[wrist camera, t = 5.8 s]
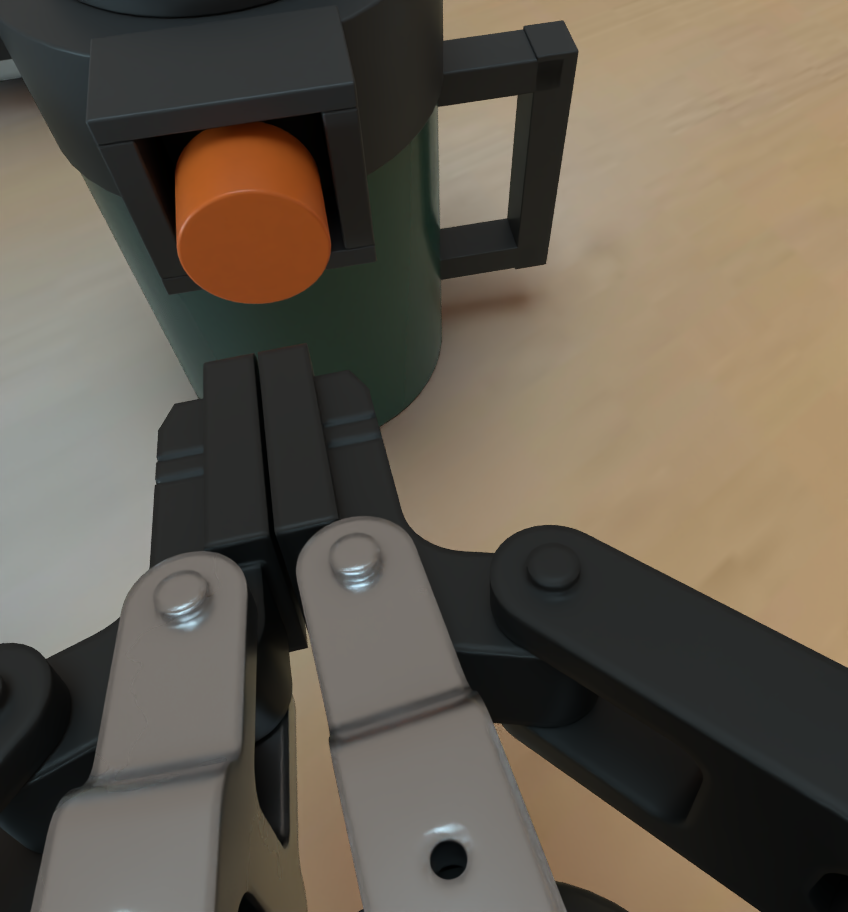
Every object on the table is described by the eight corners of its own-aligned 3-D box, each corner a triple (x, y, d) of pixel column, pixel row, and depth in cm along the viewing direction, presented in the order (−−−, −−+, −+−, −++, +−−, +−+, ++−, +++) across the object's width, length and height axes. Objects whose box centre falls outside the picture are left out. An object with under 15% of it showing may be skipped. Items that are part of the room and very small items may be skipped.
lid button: (198, 245, 19) (153, 130, 16) (328, 225, 20) (307, 107, 17) (202, 315, 18) (154, 205, 15) (340, 292, 18) (319, 180, 15)
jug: (135, 270, 37) (-107, -198, 21) (502, 211, 39) (540, -272, 22) (132, 530, 30) (-236, 125, 14) (584, 448, 32) (726, -11, 15)
